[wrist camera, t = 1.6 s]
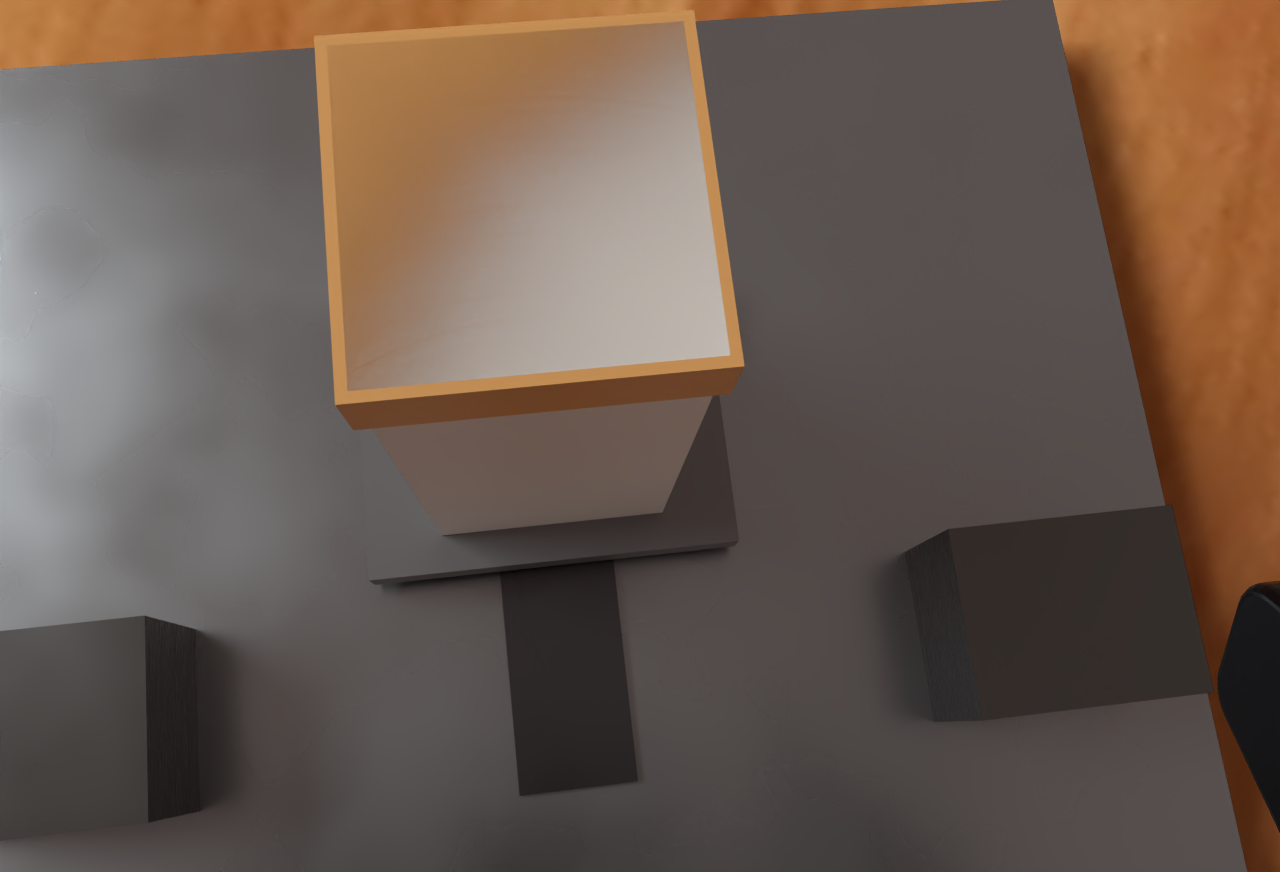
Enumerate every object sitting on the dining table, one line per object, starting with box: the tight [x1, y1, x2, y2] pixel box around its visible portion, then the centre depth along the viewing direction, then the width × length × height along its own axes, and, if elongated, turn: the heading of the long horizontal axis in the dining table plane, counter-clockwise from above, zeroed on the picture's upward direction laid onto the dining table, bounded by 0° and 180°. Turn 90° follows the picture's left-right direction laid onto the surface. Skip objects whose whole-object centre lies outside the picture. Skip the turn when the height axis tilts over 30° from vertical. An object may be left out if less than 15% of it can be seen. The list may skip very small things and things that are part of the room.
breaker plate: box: [0, 0, 1247, 872], centre depth 17 cm, size 15×18×4 cm
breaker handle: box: [314, 10, 744, 585], centre depth 13 cm, size 4×5×8 cm
